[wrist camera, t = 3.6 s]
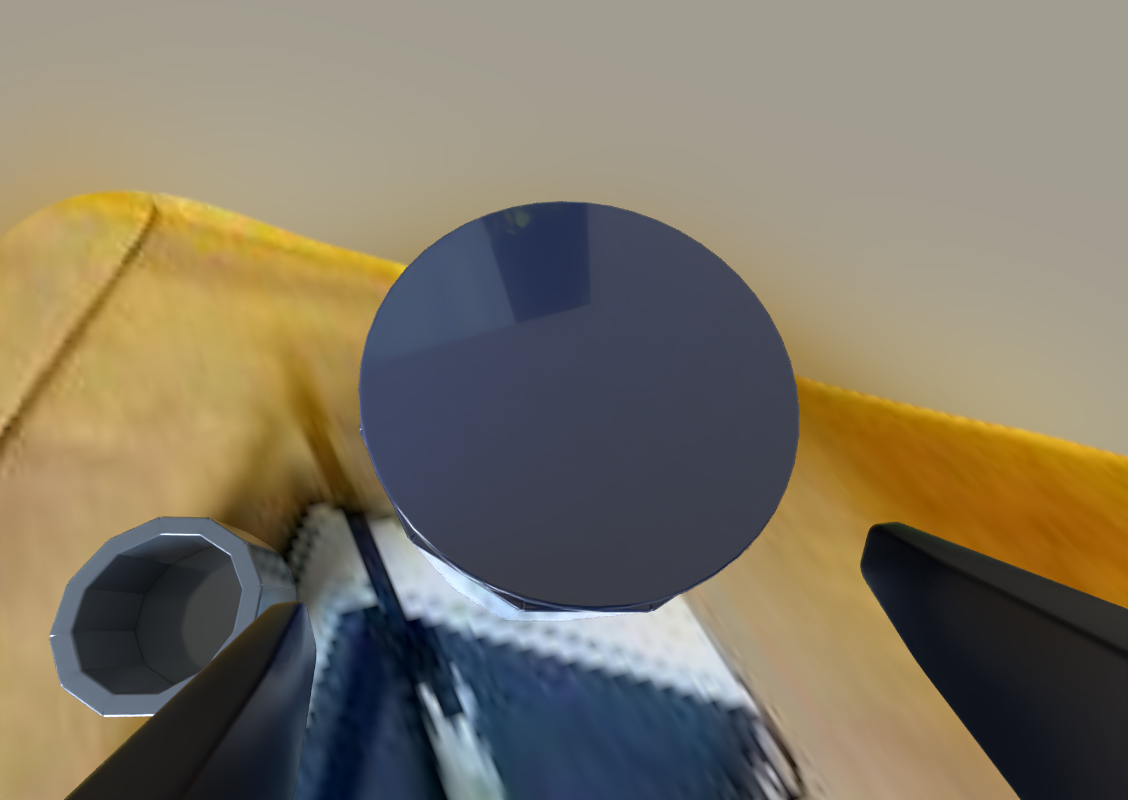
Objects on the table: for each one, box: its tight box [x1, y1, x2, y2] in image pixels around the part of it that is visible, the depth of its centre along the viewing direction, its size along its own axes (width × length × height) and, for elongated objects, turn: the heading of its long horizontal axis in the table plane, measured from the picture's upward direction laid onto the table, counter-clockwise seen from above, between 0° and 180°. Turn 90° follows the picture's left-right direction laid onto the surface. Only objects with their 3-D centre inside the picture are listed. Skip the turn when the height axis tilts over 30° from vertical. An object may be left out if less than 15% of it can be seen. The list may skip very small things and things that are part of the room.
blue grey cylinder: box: [358, 201, 799, 621], centre depth 14 cm, size 7×7×11 cm
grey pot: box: [49, 516, 296, 717], centre depth 15 cm, size 5×5×3 cm
